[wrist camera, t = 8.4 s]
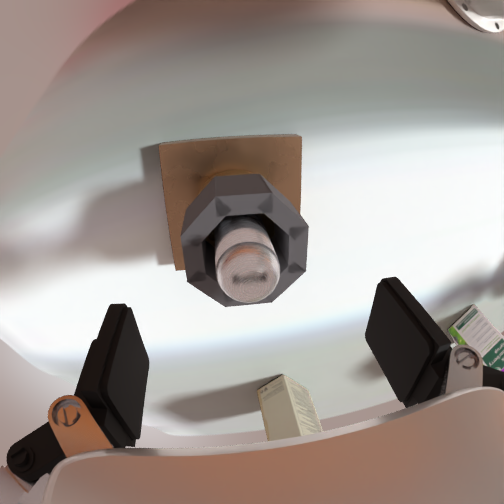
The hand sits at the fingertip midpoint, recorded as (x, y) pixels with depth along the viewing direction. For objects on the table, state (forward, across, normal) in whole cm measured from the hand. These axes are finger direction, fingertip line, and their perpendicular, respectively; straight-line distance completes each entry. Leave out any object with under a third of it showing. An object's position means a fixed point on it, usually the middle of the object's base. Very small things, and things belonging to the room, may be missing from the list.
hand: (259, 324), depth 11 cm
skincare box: (+14, -5, +25) cm, 29 cm away
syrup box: (+14, -33, +20) cm, 41 cm away
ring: (+9, 0, 0) cm, 9 cm away
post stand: (+14, 0, 0) cm, 14 cm away
